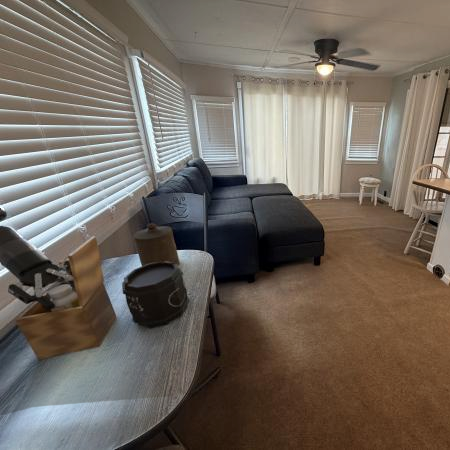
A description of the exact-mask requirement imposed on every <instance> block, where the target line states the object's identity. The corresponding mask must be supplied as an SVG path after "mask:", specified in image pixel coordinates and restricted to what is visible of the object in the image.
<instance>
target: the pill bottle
mask: <svg viewBox="0 0 450 450" xmlns="http://www.w3.org/2000/svg"><path fill="white" fill-rule="evenodd" d="M71 290H72V288H71V286H70V284H67V283H63V284H60V285H57V286H54V287H52V288H51V289H49V290H48V291H49V292H48V294H49V297H50V298H51V299H50V300H51V301H52V302H53V303H54V304H55V307H54V308H52V309H51V310H52V312H54V311H59V310H65V309H70V308H76V307H80V305H79V301H78V297H77V292H76V291H71Z"/></svg>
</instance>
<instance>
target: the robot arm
mask: <svg viewBox="0 0 450 450" xmlns="http://www.w3.org/2000/svg"><path fill="white" fill-rule="evenodd" d="M7 216H8V214H7V210H6V209H5V208H4V206H2V205H1V204H0V222H2V221H4V220H6V219H7ZM0 265H1V266H2V267H4V268H5V269H6V270H7V271H8V272H10V273H11V274H12V275H13V276H14V277H15V278H17V280H19V281H18V282H16V283H11V284H10V285H8V288H7V293H9V294H10V295H12V296H14V297H15V298H16V299H18V300H19V301H21V302H22V303H23V304H25V305H28V304H29V305H30V304H31V303H35V302H38V303H40V304H41V305H42V306H43V307H44V308H46V309H48V308H49V309H52V308H54V307H55V304H54V303H53V302H52V301H51V300H50V299H48V298H47V297H46V296H43V294H44V293H43V289H44V288H46V287H47V286H49V285H51V284H55V283H56V282H57V283H63V284H69V285H70V286H71V287H72V288H73V289H74V290H75V291H76V288H75V284H74V280H73V275H72V271H71V267H70V263H69V261H65V263H63V264H60V265H59V264H56V263H53V262H52V260H51V259H50V258H48V256H47V255H45V254H44V253H43V252H42V251H41V250H40V249H38V247H36V246H35V245H34V244H33V243H32V242H30V241H29V240H27V239H26V238H25V237H24V236H23V235H22V234H21V233H19V232H18V231H17V230H16V229H15V228H14V227H13V226H10V225H0ZM59 269H63V270H66V271H67V272H68V273H67V272H66V271H65V272H66V273H65V272H63V270H62V272H61V271H59ZM68 274H69V275H68ZM23 286H24V287H29V288H32V290H33V295H31V294H29V292H26V291H25V290H24V289H23Z"/></svg>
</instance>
